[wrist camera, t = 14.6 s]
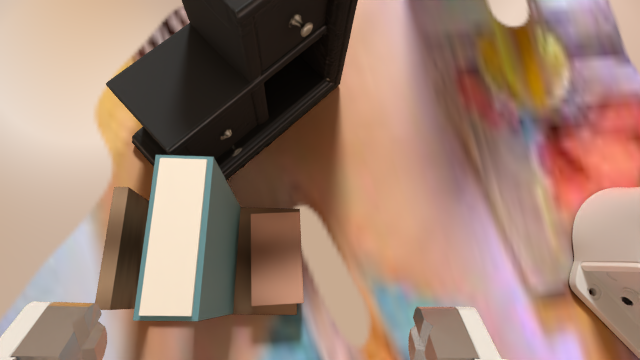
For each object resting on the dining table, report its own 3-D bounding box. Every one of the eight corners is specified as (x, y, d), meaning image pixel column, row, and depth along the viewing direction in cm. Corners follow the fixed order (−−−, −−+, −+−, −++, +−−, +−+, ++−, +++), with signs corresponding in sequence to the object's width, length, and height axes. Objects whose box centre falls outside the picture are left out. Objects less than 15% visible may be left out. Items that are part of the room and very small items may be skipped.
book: (233, 313, 41) (197, 321, 25) (192, 313, 41) (131, 320, 25) (240, 206, 44) (212, 155, 28) (203, 206, 44) (154, 153, 28)
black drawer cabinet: (192, 211, 45) (94, 121, 22) (132, 143, 47) (-16, -3, 24) (341, 86, 51) (382, -86, 28) (283, 30, 52) (276, -174, 30)
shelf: (302, 314, 42) (305, 318, 33) (139, 312, 41) (92, 316, 32) (304, 211, 46) (308, 187, 36) (153, 207, 45) (115, 181, 35)
